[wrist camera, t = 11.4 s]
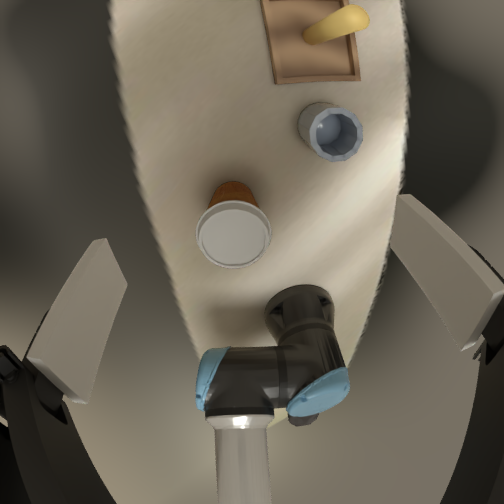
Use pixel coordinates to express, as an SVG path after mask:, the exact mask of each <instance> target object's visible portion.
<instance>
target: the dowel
mask: <svg viewBox="0 0 504 504" xmlns="http://www.w3.org/2000/svg"><path fill="white" fill-rule="evenodd" d="M369 23H370V19H369V16H368V14H367V12H366V11H365V10H364V9H363V8H361V7H360V6H357V5H353V4H351V5H347V6H345V7H343V8H341V9H339V10H337V11H336V12H334V13H332V14H330V15H329V16H327V17H325V18H323V19H322V20H320V21H318V22H317V23H315V24H313V25H312V26H310V27H309V28H307V29H306V30H304V32H303V34H302V37H303V39H304V41H305V42H306V43H308V44H310V45H317V44H320V43H323V42H325V41H328V40H331V39H334V38H337V37H340V36H343V35H346V34H350V33H353V32H356V31H360V30H363V29H366V28H367V27H368V25H369Z"/></svg>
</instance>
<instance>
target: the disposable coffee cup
mask: <svg viewBox="0 0 504 504" xmlns="http://www.w3.org/2000/svg"><path fill="white" fill-rule="evenodd" d="M271 235H272V231H271V225H270V222H269V220H268V218H267V217H266V215H265V214H264V213H263V212H262V211H261V210H260V208H259V207H258V205H257V203H256V201H255V199H254V197H253V195H252V193H251V191H250V189H249V188H248V187H247V186H246V185H244V184H242V183H240V182H227V183H224V184H222V185H221V186H220V187H218V189H217V190H216V191H215V193H214V196H213V198H212V200H211V202H210V204H209V206H208V208H207V210H206V211H205V212H204V213H203V215H202V216H201V218H200V219H199V221H198V224H197V227H196V240H197V243H198V246H199V248H200V249H201V251H202V253H203V254H204V256H205V257H206V258H207V259H208V260H209V261H211V262H212V263H214V264H216V265H218V266H220V267H224V268H230V269H237V268H243V267H246V266H249V265H251V264H253V263H255V262H256V261H258V260H259V259H260V258H261V257H262V256H263V255H264V253H265V252H266V249H267V248H268V246H269V244H270V241H271Z"/></svg>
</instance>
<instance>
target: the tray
mask: <svg viewBox="0 0 504 504" xmlns="http://www.w3.org/2000/svg"><path fill="white" fill-rule="evenodd" d="M260 3H261V8H262V13H263V18H264V23H265V28H266V34H267V39H268V45H269V50H270V56H271V62H272V68H273V74H274V80H275V84H286V83H298V82H315V81H361V77H360V68H359V60H358V52H357V45H356V39H355V32H353V33H350V34H346V35H343V36H340V37H337V38H334V39H331V40H328V41H325V42H323V43H320V44H317V45H310V44H308V43H306V42H305V41H304V39H303V37H302V34H303V32H304V30H306V29H307V28H309V27H310V26H312V25H313V24H315V23H317V22H318V21H320V20H322V19H323V18H325V17H327V16H329V15H330V14H332V13H334V12H336V11H337V10H339V9H341V8H343V7H345V6H347V5H349V1H348V0H260Z"/></svg>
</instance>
